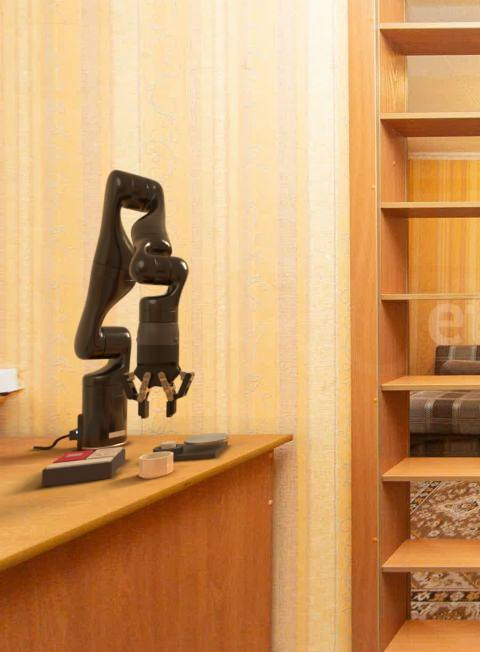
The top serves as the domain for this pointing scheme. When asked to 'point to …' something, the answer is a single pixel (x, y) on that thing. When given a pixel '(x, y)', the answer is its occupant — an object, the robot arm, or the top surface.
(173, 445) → the button
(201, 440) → the pan
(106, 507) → the top surface
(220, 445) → the grey knob plate
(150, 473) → the bowl
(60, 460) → the calculator
